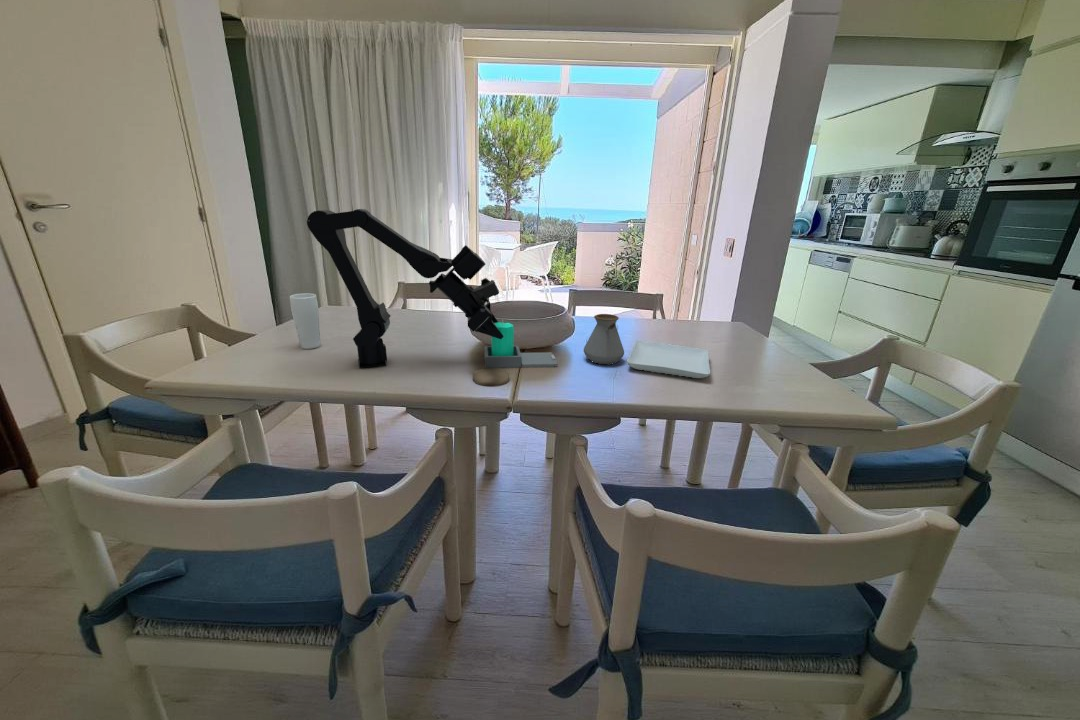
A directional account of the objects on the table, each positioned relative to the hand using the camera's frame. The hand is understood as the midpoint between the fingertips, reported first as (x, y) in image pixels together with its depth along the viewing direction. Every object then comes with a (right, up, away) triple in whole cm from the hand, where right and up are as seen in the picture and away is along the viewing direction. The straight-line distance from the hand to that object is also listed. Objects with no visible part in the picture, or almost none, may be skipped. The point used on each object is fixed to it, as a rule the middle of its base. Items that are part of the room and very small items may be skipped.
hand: (501, 332), depth 116 cm
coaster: (-2, -12, -9) cm, 15 cm away
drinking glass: (-56, -4, +9) cm, 57 cm away
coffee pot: (+28, -9, +2) cm, 30 cm away
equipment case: (+5, -8, +4) cm, 10 cm away
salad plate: (+47, -9, +5) cm, 48 cm away
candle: (0, -8, +3) cm, 8 cm away
